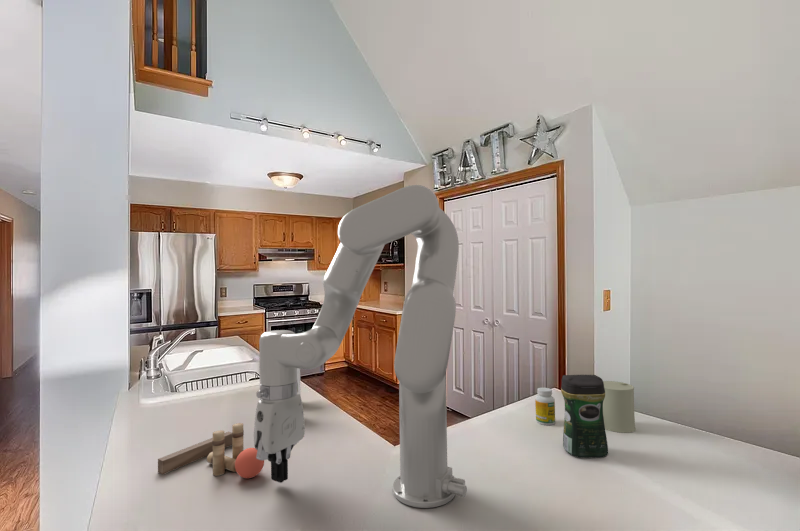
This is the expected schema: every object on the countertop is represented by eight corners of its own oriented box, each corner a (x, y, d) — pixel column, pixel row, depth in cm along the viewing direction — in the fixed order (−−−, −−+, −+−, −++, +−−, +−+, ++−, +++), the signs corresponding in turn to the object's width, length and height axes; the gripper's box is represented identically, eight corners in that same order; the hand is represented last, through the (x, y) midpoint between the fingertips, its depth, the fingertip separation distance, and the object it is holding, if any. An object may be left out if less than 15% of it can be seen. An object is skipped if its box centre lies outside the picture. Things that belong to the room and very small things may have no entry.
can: (643, 429, 109) (642, 385, 109) (619, 435, 106) (617, 389, 106) (614, 418, 118) (613, 378, 118) (590, 423, 114) (589, 381, 115)
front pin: (240, 458, 90) (215, 449, 95) (231, 463, 88) (206, 454, 93) (241, 468, 90) (216, 459, 95) (232, 474, 88) (207, 465, 93)
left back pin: (227, 472, 89) (227, 431, 89) (217, 477, 87) (217, 435, 87) (220, 469, 90) (220, 429, 91) (210, 474, 88) (209, 433, 88)
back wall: (233, 444, 104) (233, 432, 104) (162, 474, 88) (162, 460, 88) (228, 443, 105) (228, 431, 105) (157, 472, 89) (157, 459, 89)
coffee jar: (597, 445, 99) (595, 371, 100) (613, 460, 92) (610, 379, 92) (558, 445, 100) (556, 371, 100) (570, 460, 92) (568, 379, 93)
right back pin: (246, 462, 93) (245, 424, 94) (236, 467, 91) (236, 427, 91) (239, 460, 95) (238, 422, 95) (229, 464, 92) (229, 425, 93)
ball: (248, 448, 91) (258, 474, 90) (225, 460, 86) (236, 487, 85) (262, 439, 89) (274, 464, 87) (240, 450, 84) (251, 478, 82)
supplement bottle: (541, 417, 119) (540, 385, 120) (558, 422, 116) (557, 389, 116) (532, 422, 116) (531, 389, 116) (550, 427, 112) (549, 393, 112)
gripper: (262, 403, 75) (262, 502, 74) (316, 384, 87) (317, 468, 87) (236, 397, 78) (236, 492, 78) (292, 380, 91) (293, 461, 91)
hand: (279, 479), depth 82 cm, fingers closed
